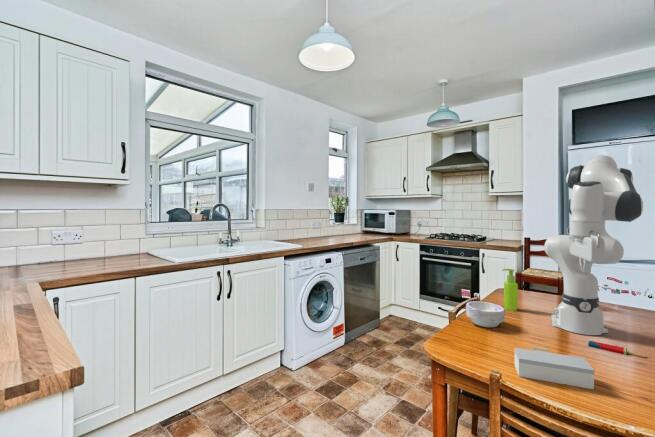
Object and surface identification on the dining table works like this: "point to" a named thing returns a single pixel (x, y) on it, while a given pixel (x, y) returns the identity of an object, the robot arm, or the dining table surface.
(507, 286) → the soap dispenser
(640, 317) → the dining table surface
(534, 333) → the dining table surface
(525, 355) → the end cap
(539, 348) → the slat
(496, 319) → the paper bowls
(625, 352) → the popsicle
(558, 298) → the dining table surface
